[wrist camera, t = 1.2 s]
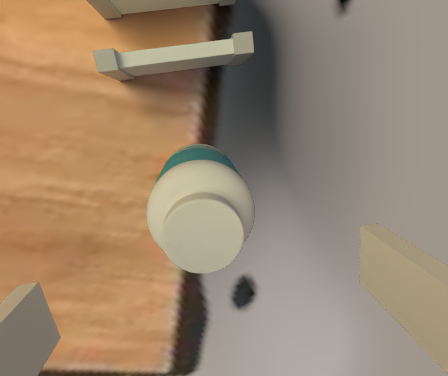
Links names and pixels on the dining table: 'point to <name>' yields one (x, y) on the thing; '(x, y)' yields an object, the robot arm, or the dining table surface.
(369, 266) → the robot arm
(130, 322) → the dining table surface
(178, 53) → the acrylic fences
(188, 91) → the dining table surface
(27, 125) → the dining table surface
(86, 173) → the dining table surface
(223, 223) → the pill bottle
